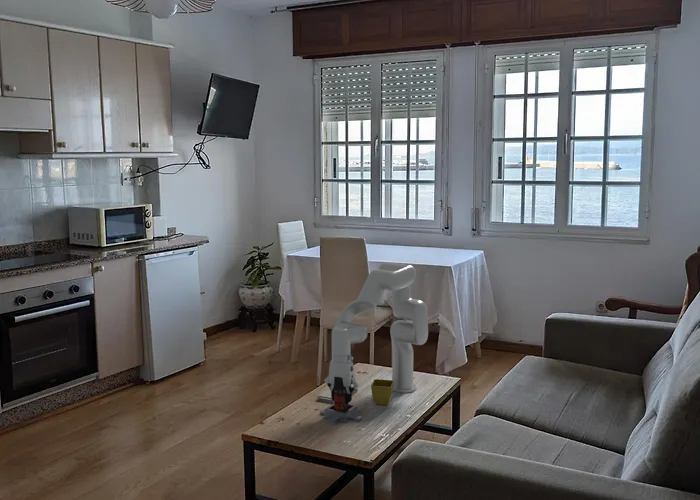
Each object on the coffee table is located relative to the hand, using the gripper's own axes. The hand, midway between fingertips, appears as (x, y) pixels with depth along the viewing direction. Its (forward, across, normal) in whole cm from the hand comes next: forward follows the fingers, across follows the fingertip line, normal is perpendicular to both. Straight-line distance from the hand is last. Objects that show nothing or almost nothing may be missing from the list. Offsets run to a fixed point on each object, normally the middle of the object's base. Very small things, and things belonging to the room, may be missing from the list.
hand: (341, 400), depth 269 cm
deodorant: (+5, 0, 0) cm, 5 cm away
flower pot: (+7, -8, -22) cm, 24 cm away
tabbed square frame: (+7, 0, 0) cm, 7 cm away
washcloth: (+8, +13, -20) cm, 25 cm away
